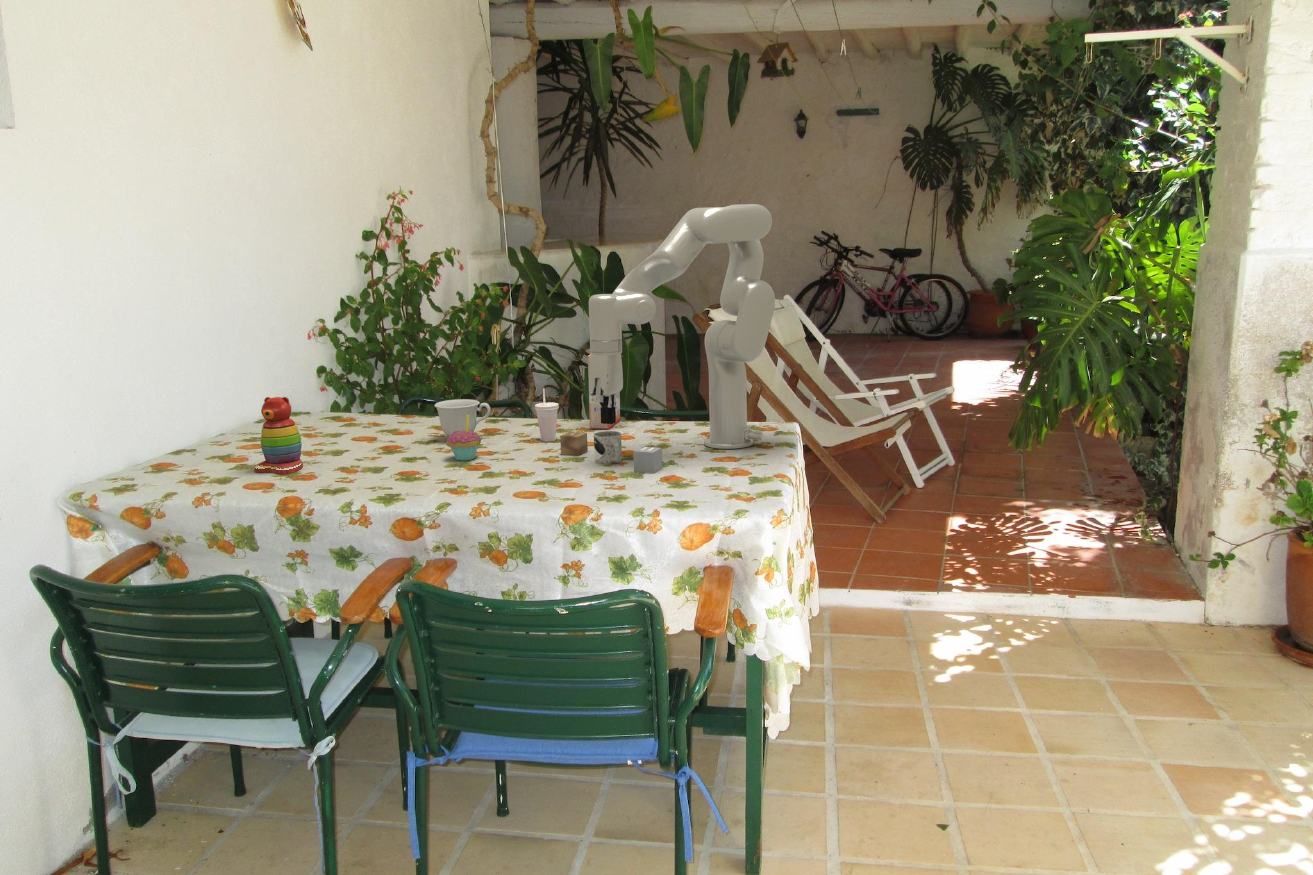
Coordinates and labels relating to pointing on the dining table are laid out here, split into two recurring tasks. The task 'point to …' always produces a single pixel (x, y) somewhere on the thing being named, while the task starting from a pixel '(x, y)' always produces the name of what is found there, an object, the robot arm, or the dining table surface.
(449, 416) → the teacup
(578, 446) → the walnut number block
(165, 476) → the dining table surface
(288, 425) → the stacking bear
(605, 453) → the mug
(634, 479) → the dining table surface
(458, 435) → the cupcake
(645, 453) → the slate number block
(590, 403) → the cracker box
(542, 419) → the smoothie
